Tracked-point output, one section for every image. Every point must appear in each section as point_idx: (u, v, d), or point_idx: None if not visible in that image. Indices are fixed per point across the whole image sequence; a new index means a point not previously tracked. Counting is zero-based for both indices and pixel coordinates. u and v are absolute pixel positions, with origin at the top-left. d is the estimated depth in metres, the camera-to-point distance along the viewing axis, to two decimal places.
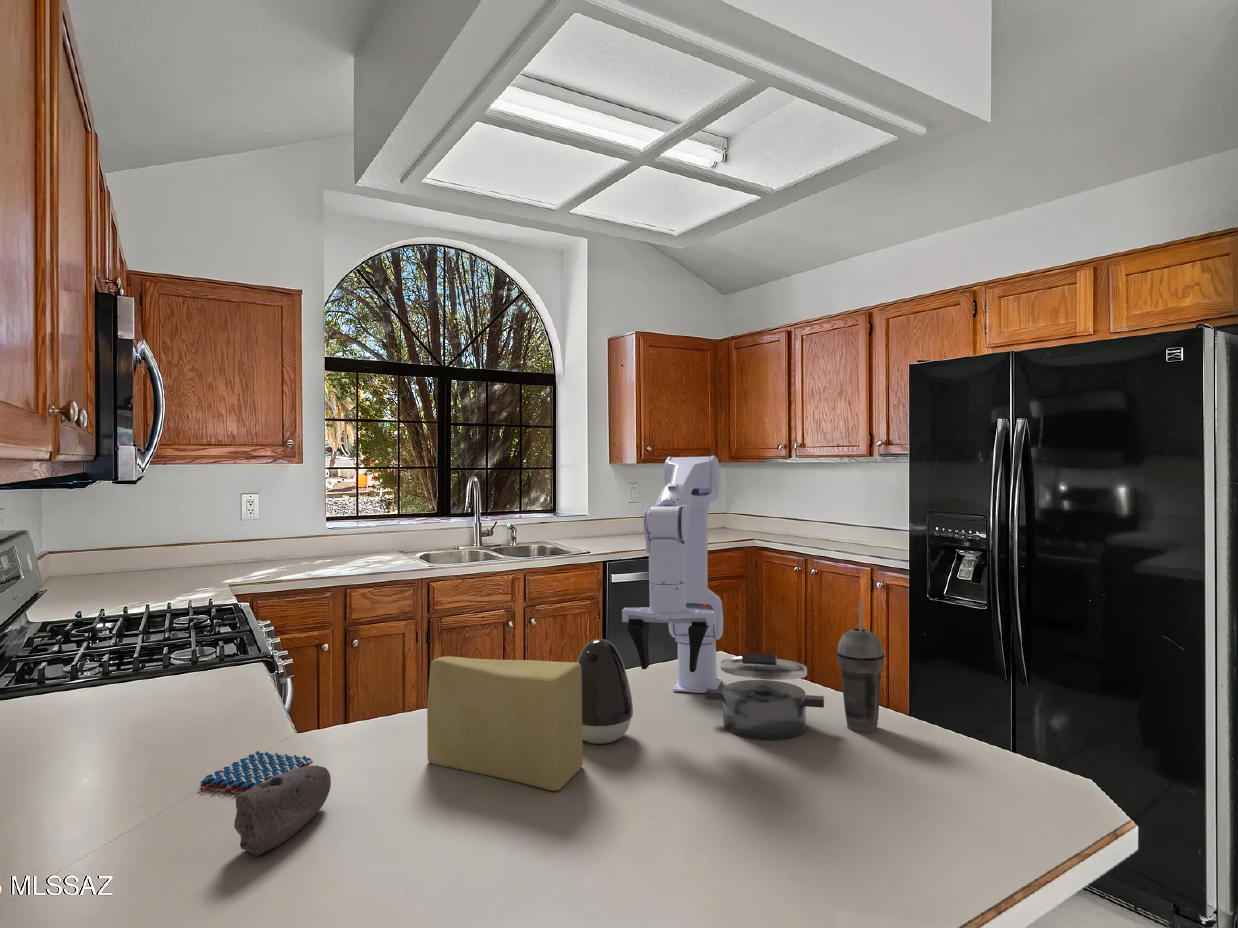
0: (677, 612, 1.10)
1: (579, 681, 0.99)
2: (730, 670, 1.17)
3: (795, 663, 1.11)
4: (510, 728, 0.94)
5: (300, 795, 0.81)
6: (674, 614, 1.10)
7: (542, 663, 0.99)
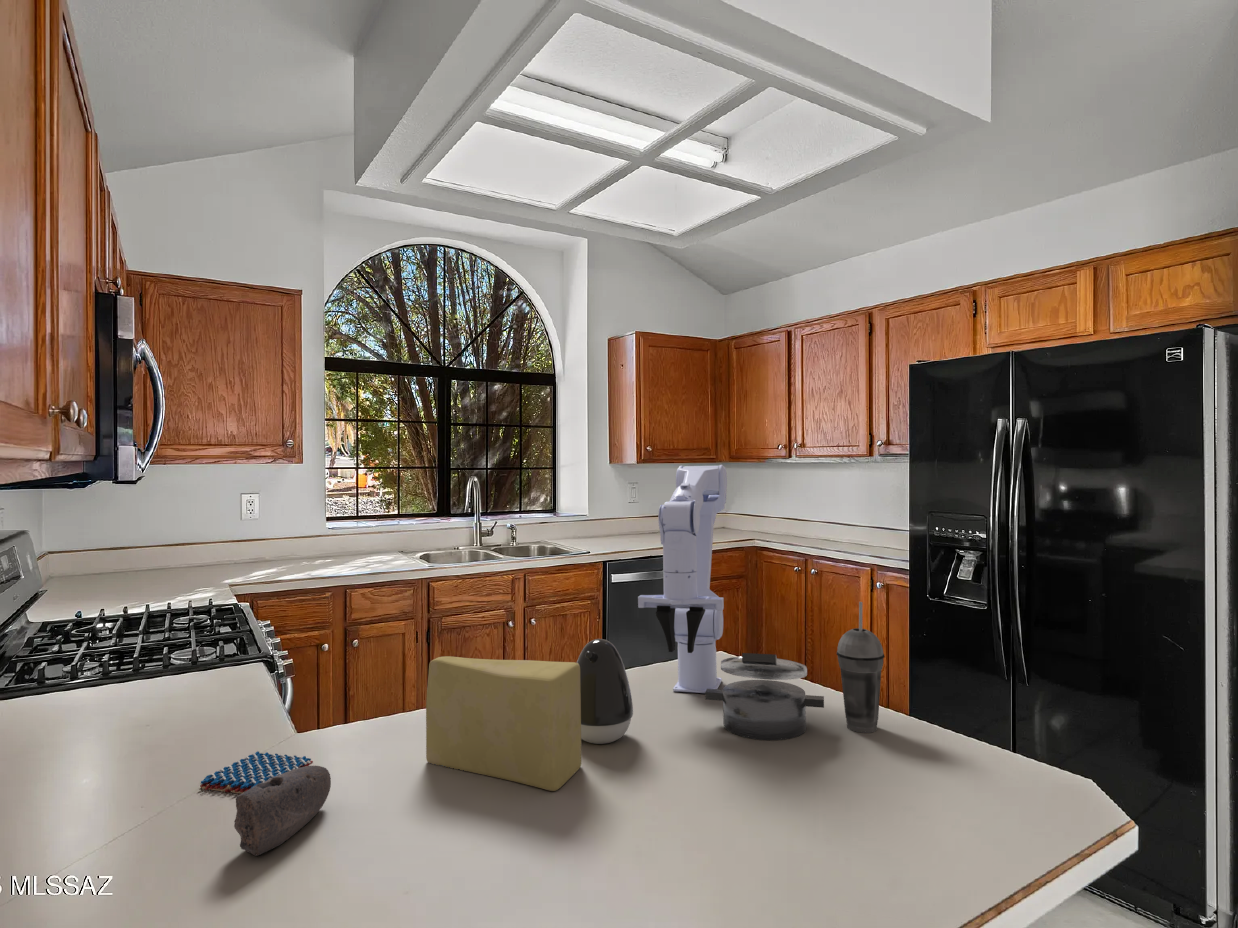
0: (689, 598, 1.20)
1: (578, 681, 0.99)
2: (730, 670, 1.17)
3: (795, 663, 1.11)
4: (508, 728, 0.94)
5: (300, 795, 0.81)
6: (686, 600, 1.20)
7: (541, 663, 0.99)
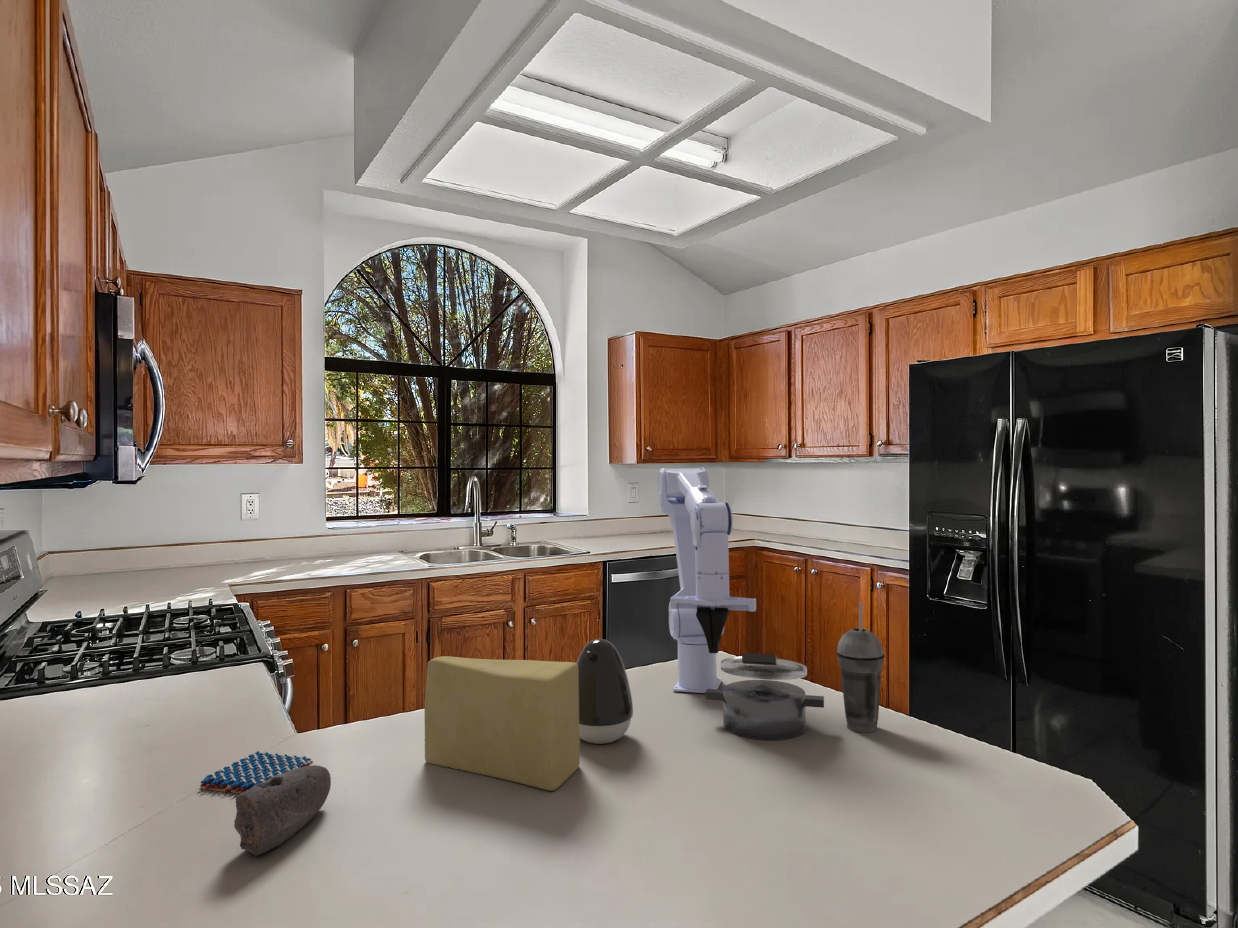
0: (722, 599, 1.21)
1: (576, 681, 0.99)
2: (730, 670, 1.17)
3: (795, 663, 1.11)
4: (506, 728, 0.94)
5: (300, 795, 0.81)
6: (719, 601, 1.20)
7: (539, 663, 0.99)
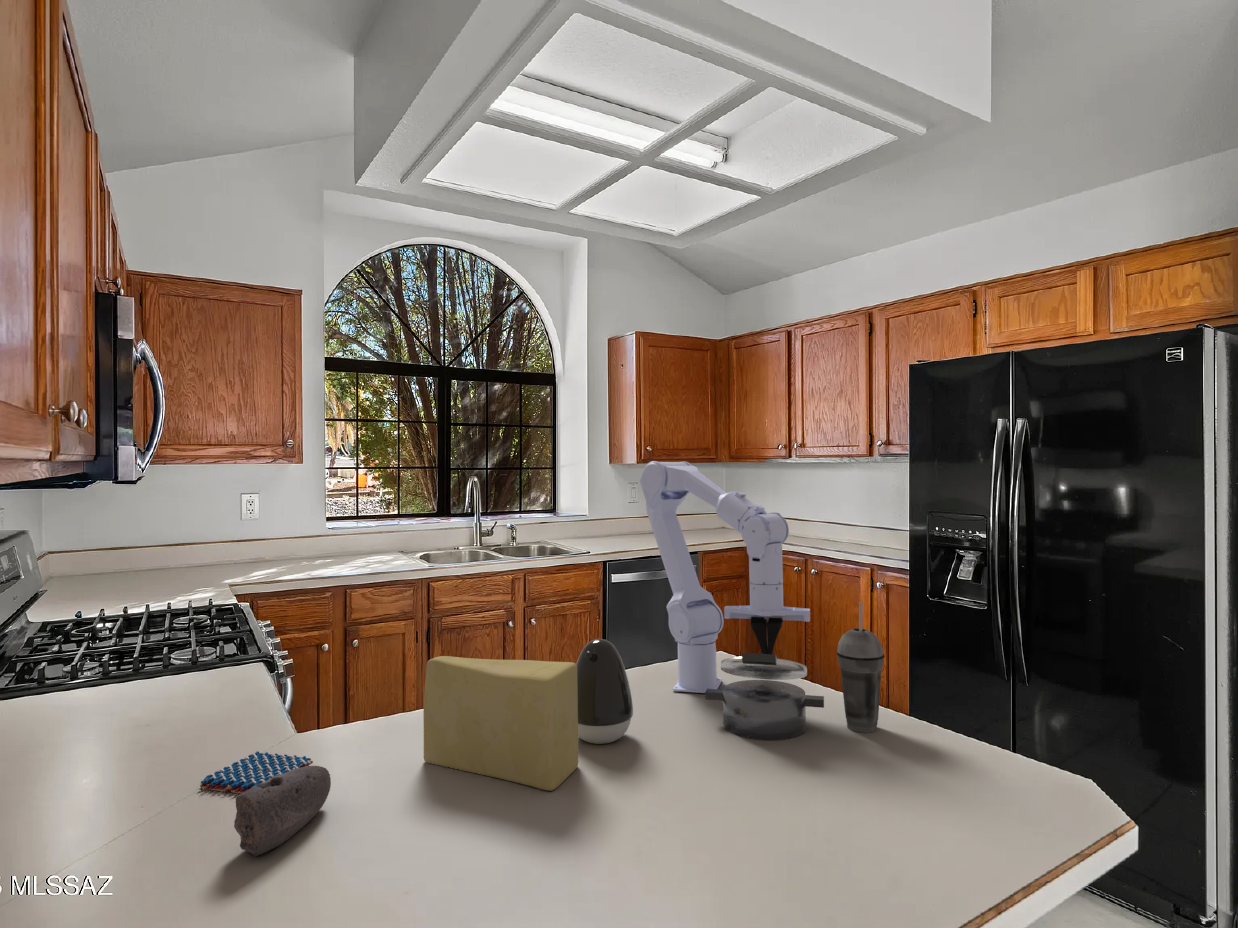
0: (777, 610, 1.22)
1: (575, 681, 0.99)
2: (730, 670, 1.17)
3: (795, 663, 1.11)
4: (505, 728, 0.94)
5: (300, 795, 0.81)
6: (774, 611, 1.22)
7: (538, 663, 0.99)
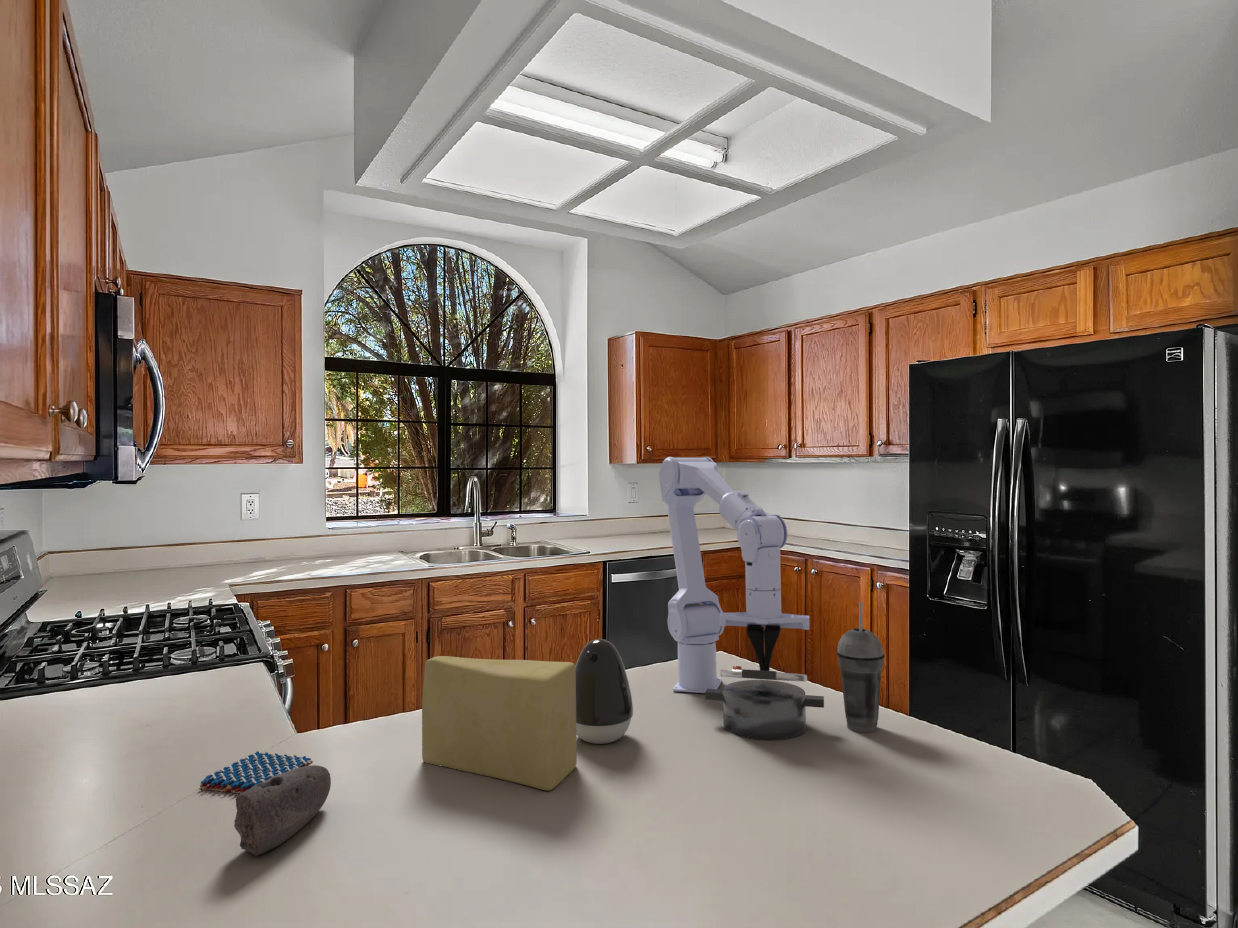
0: (775, 617, 1.16)
1: (573, 681, 0.99)
2: None
3: (795, 675, 1.10)
4: (503, 728, 0.94)
5: (300, 795, 0.81)
6: (772, 619, 1.15)
7: (536, 663, 0.99)
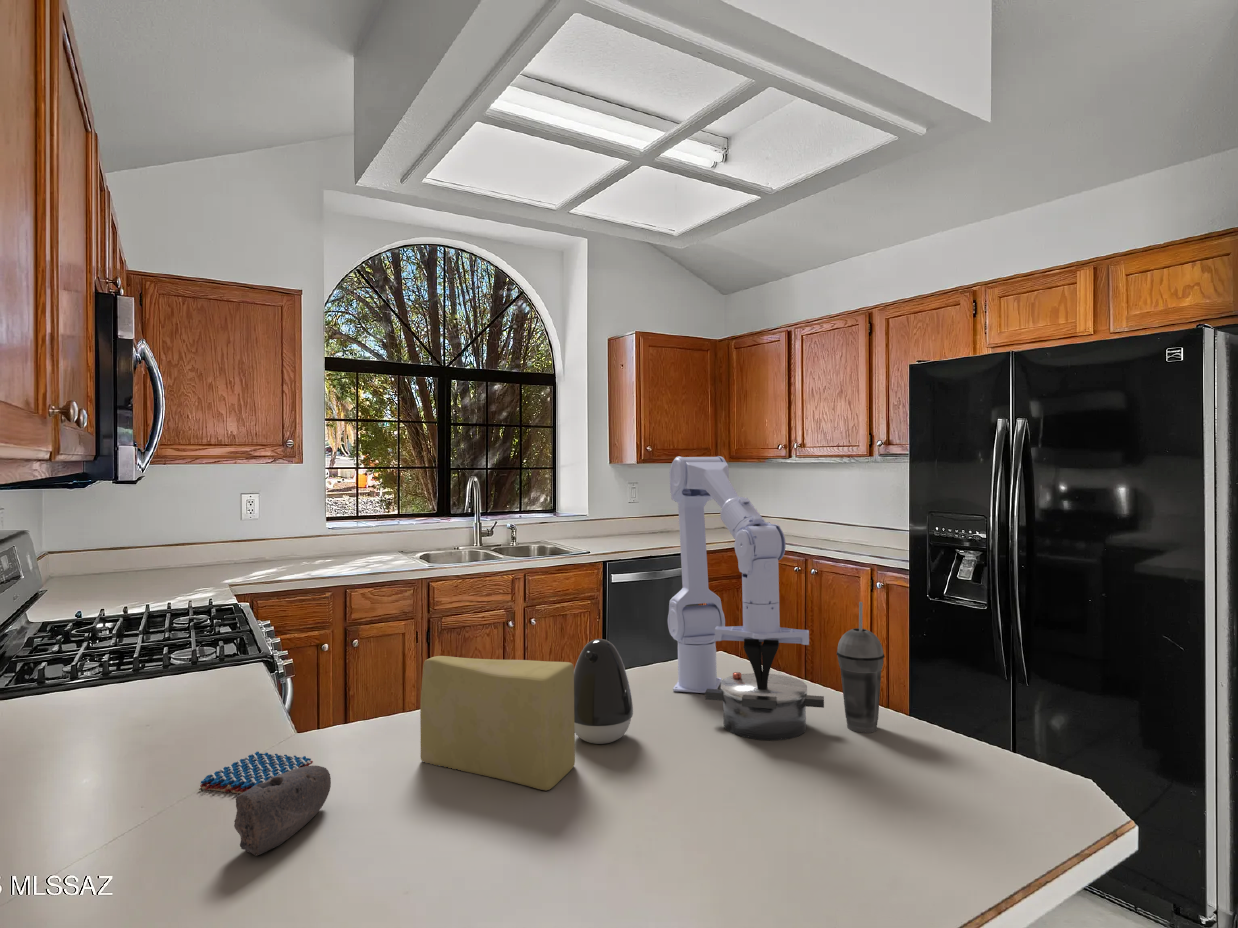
0: (773, 631, 1.11)
1: (571, 681, 0.99)
2: None
3: (795, 695, 1.09)
4: (501, 727, 0.94)
5: (300, 795, 0.81)
6: (770, 633, 1.10)
7: (534, 663, 0.99)
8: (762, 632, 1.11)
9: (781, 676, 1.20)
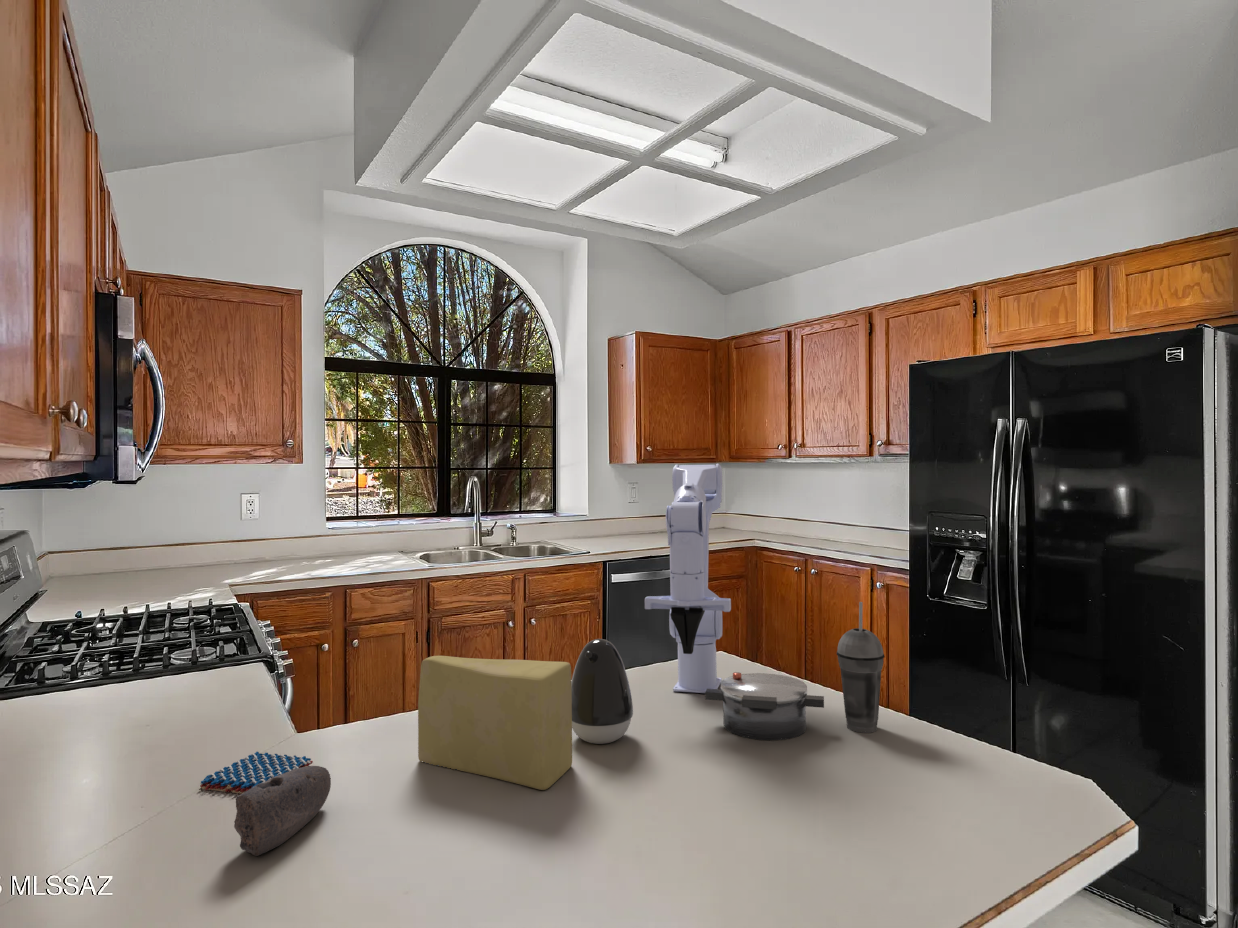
0: (696, 599, 1.20)
1: (569, 681, 0.99)
2: None
3: (795, 696, 1.09)
4: (499, 727, 0.94)
5: (300, 795, 0.81)
6: (694, 601, 1.19)
7: (532, 662, 1.00)
8: (686, 600, 1.19)
9: (781, 676, 1.20)
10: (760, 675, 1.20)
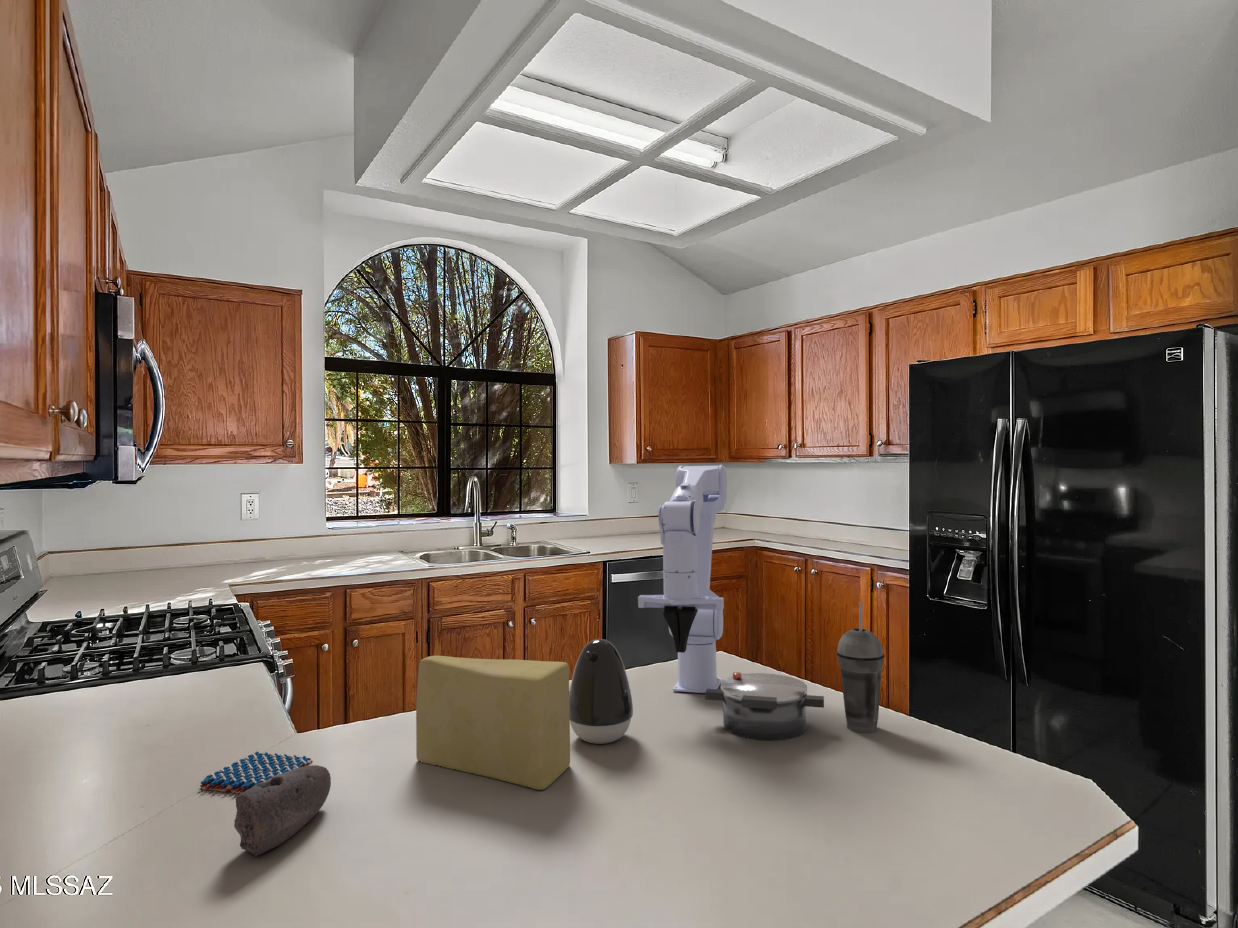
0: (689, 598, 1.20)
1: (567, 681, 0.99)
2: None
3: (795, 696, 1.09)
4: (496, 727, 0.94)
5: (300, 795, 0.81)
6: (686, 600, 1.20)
7: (529, 663, 1.00)
8: (679, 599, 1.20)
9: (781, 676, 1.20)
10: (760, 675, 1.20)
